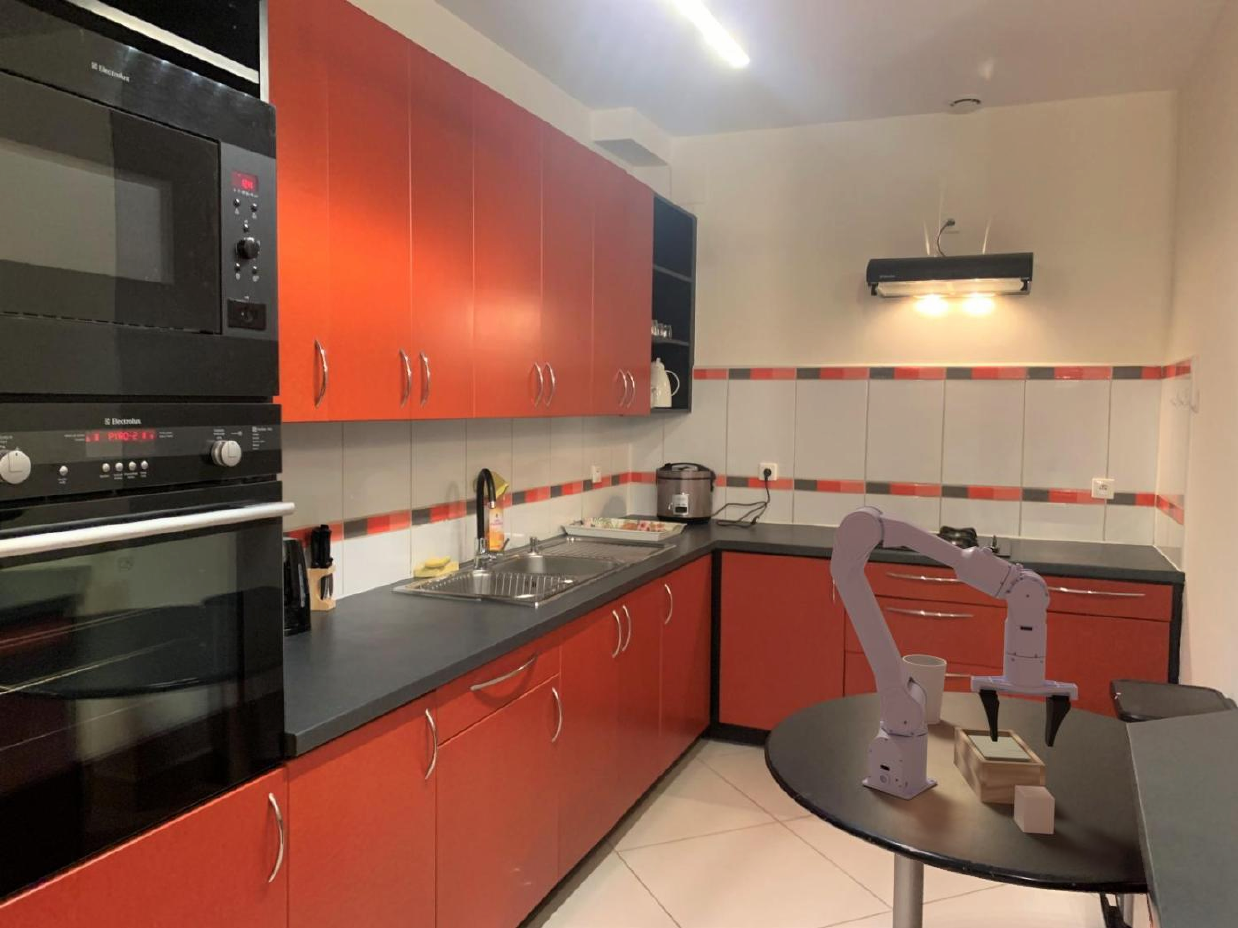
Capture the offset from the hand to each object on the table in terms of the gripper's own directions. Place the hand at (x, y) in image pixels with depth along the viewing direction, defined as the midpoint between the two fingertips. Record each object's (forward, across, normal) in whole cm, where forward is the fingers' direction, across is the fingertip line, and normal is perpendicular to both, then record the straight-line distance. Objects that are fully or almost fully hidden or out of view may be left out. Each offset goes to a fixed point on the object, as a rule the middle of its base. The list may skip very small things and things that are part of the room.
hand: (1021, 741), depth 134 cm
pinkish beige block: (+10, 0, +8) cm, 13 cm away
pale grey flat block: (+4, +2, -5) cm, 6 cm away
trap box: (+10, +2, -7) cm, 12 cm away
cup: (+10, +11, -34) cm, 37 cm away
